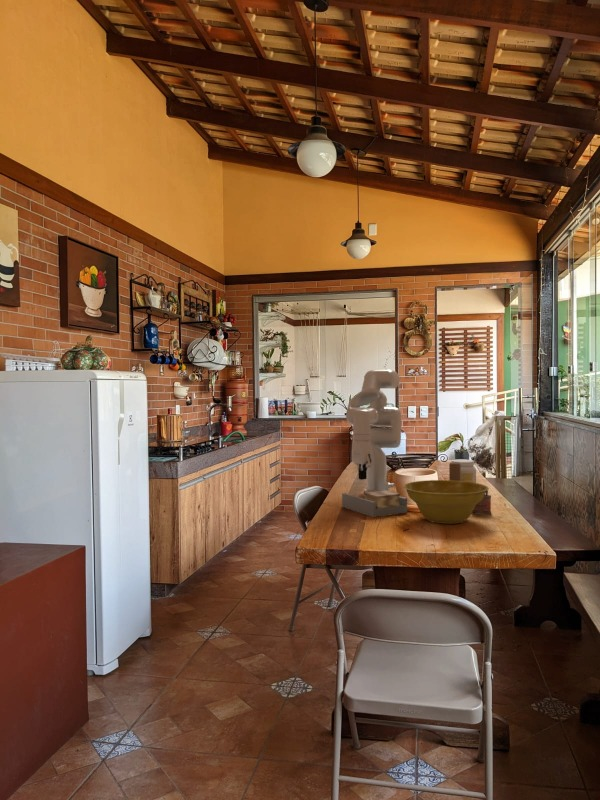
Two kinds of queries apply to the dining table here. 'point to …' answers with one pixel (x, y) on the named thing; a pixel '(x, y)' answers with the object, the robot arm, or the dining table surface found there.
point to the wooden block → (455, 471)
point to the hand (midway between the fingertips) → (362, 478)
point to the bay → (372, 506)
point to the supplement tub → (467, 470)
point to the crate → (383, 498)
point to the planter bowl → (445, 499)
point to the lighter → (483, 505)
